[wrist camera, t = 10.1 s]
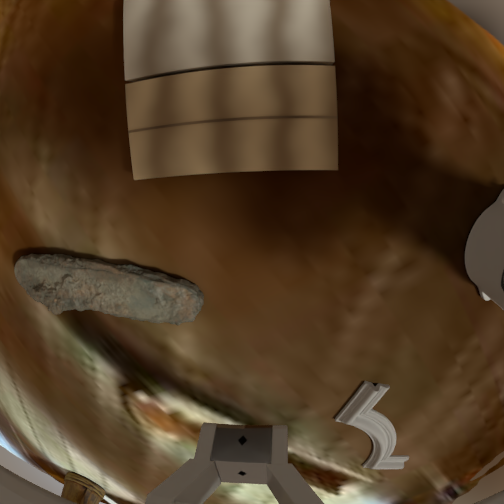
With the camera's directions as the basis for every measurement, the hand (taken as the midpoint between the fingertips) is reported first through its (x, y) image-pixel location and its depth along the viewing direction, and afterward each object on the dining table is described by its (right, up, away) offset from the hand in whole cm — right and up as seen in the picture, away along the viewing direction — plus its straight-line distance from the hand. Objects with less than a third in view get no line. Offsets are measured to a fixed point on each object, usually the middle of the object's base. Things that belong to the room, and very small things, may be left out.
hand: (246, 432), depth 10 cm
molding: (+30, -33, +47) cm, 65 cm away
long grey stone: (-24, +2, +36) cm, 43 cm away
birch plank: (-3, +33, +20) cm, 39 cm away
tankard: (-66, -86, +77) cm, 133 cm away
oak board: (-2, +22, +25) cm, 33 cm away
